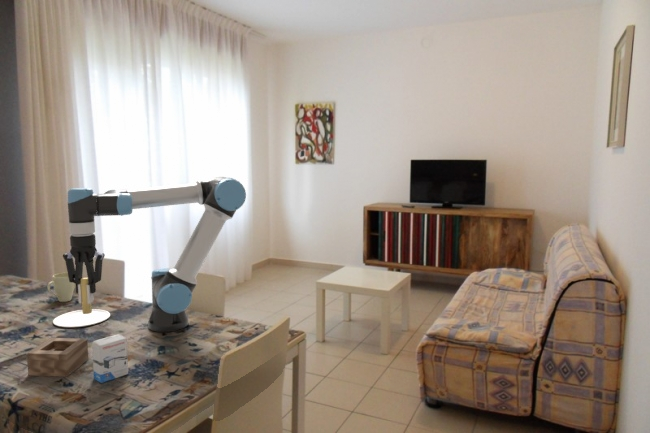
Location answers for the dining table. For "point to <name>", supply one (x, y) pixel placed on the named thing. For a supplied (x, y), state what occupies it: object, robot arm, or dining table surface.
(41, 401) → the dining table surface
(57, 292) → the mug
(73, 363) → the bore block
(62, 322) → the plate
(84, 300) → the pin
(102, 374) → the ink box
